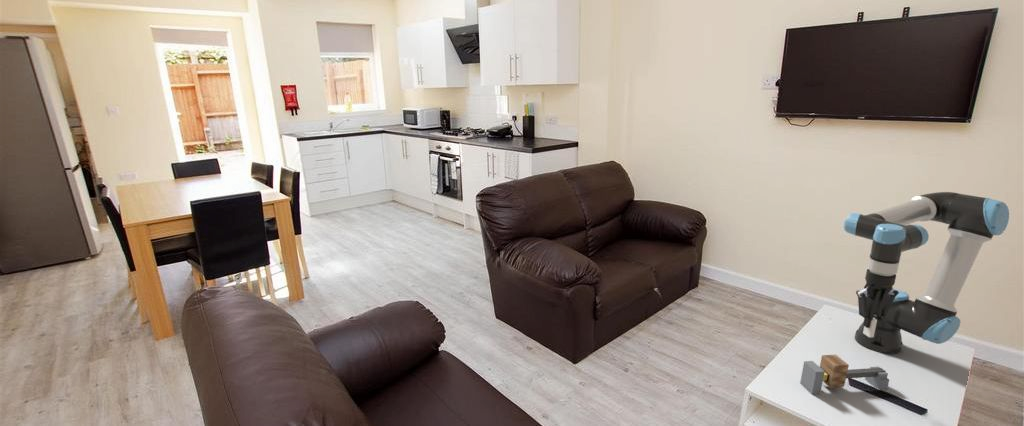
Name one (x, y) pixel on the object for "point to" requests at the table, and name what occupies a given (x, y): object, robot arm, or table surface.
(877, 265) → the robot arm
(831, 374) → the wooden block on rod
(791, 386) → the table surface
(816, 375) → the rod rig
